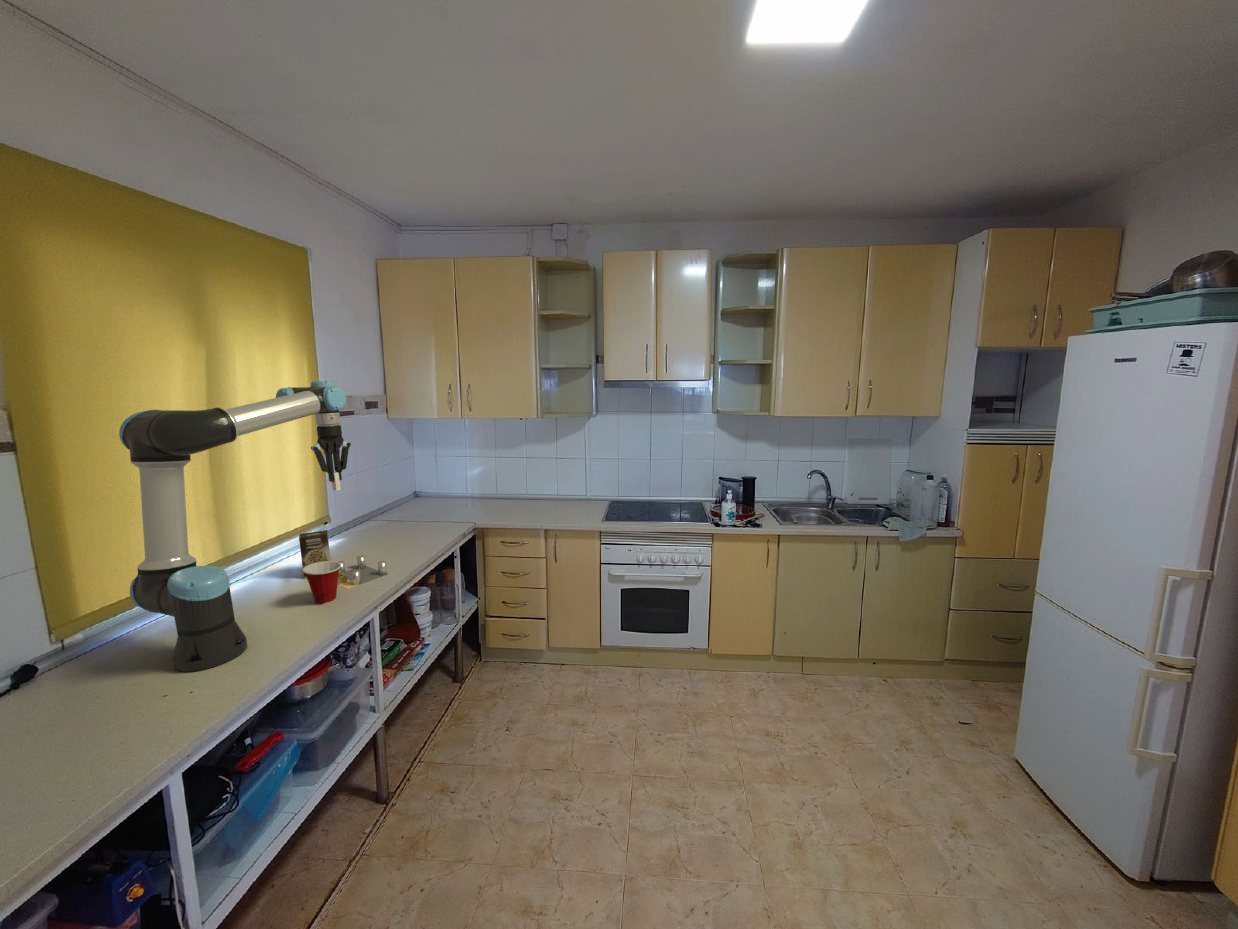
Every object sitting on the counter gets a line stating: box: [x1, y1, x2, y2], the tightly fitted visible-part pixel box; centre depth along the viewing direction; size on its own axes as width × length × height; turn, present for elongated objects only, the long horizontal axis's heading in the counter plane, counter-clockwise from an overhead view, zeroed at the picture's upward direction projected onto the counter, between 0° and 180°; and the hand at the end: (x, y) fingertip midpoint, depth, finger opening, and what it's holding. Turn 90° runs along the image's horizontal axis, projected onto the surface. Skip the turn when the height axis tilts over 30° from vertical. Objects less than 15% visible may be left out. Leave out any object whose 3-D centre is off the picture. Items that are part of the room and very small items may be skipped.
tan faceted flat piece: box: [338, 573, 348, 584], centre depth 175 cm, size 5×4×2 cm
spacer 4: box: [377, 560, 388, 577], centre depth 181 cm, size 3×3×5 cm
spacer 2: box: [351, 570, 362, 586], centre depth 173 cm, size 3×3×5 cm
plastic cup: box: [302, 560, 341, 605], centre depth 160 cm, size 11×11×12 cm
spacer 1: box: [337, 560, 346, 573], centre depth 182 cm, size 3×3×5 cm
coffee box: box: [298, 529, 332, 580], centre depth 182 cm, size 9×6×16 cm
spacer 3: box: [356, 554, 367, 569], centre depth 188 cm, size 3×3×5 cm
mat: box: [337, 565, 389, 590], centre depth 180 cm, size 15×17×1 cm
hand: (336, 489), depth 177 cm, fingers closed
